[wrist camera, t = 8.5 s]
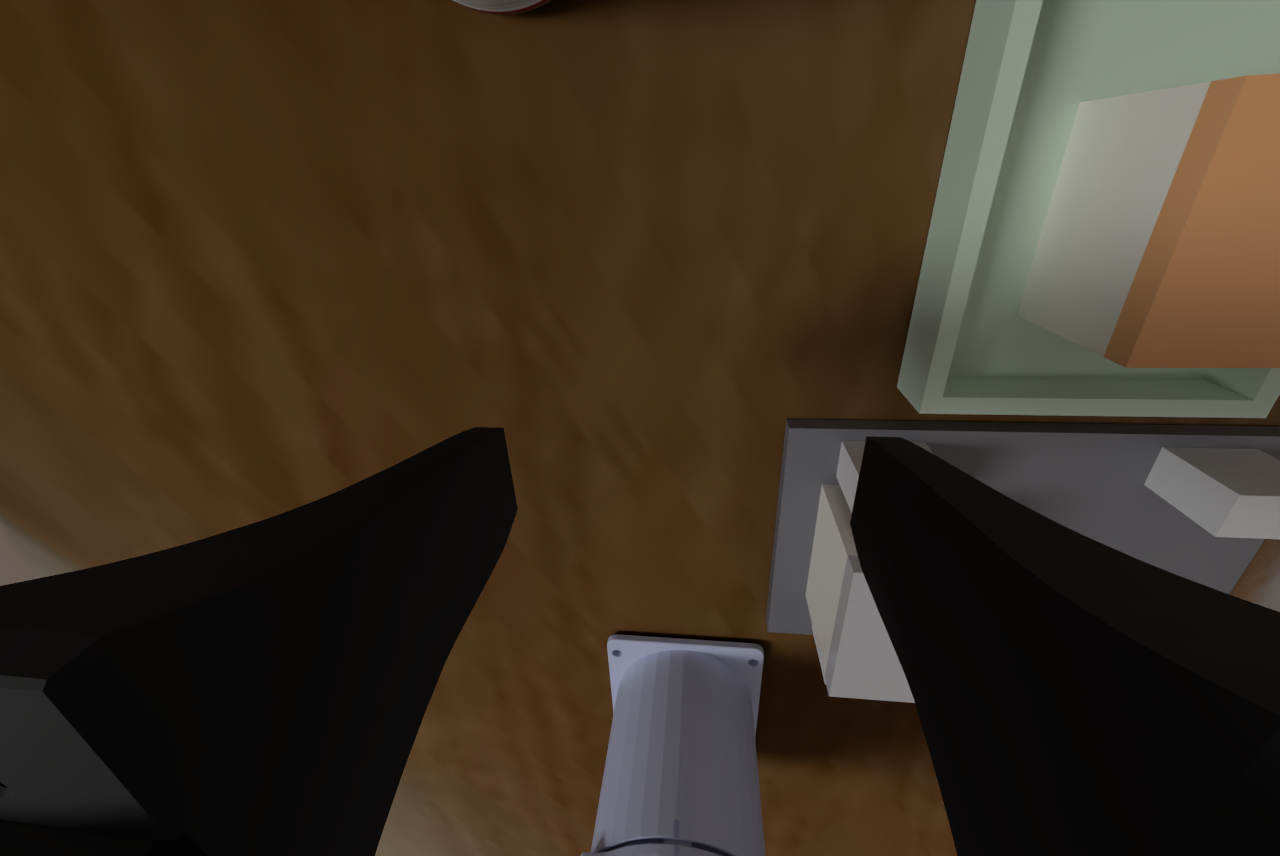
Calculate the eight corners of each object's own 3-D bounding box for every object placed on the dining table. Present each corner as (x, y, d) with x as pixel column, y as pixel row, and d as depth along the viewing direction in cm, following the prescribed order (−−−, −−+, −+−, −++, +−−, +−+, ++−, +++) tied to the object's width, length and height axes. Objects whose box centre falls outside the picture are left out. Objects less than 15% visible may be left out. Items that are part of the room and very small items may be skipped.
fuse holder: (1172, 643, 23) (1251, 724, 20) (765, 618, 25) (775, 688, 22) (1307, 426, 18) (1444, 486, 15) (786, 419, 20) (802, 470, 17)
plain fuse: (898, 600, 23) (944, 705, 18) (805, 595, 23) (828, 696, 19) (927, 487, 20) (990, 578, 16) (821, 484, 20) (853, 572, 16)
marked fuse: (1150, 313, 17) (1311, 368, 12) (1016, 314, 17) (1125, 367, 13) (1241, 93, 14) (1493, 60, 9) (1080, 102, 14) (1247, 75, 10)
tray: (1202, 389, 18) (1265, 418, 16) (896, 387, 19) (919, 413, 17) (1435, -76, 12) (1579, -123, 10) (984, -39, 14) (1033, -74, 12)
